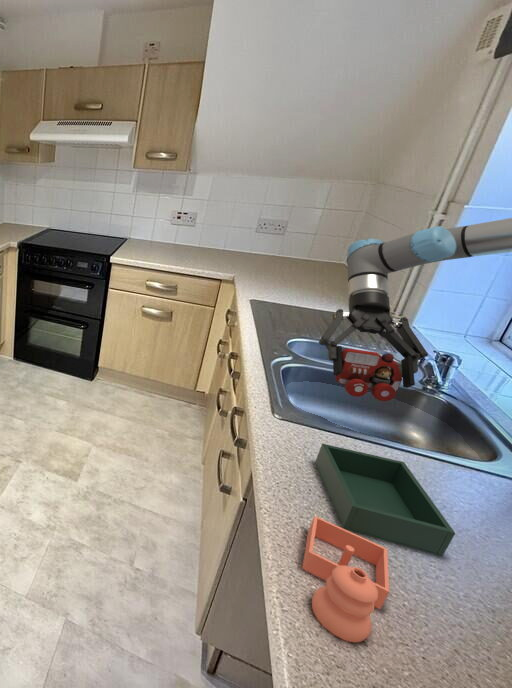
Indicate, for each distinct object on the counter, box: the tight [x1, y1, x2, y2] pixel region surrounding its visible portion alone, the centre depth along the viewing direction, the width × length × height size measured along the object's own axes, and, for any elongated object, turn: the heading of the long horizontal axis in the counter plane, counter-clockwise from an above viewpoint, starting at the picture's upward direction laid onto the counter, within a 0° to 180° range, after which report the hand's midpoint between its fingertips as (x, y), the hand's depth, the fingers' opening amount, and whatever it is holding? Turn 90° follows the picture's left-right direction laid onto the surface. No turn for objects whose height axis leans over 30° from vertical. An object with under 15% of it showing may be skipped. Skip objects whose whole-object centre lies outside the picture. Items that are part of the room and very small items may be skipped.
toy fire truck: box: [334, 348, 403, 402], centre depth 96 cm, size 7×12×10 cm, turn 72°
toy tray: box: [314, 443, 456, 557], centre depth 77 cm, size 14×18×6 cm
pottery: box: [301, 515, 390, 643], centre depth 61 cm, size 18×10×10 cm, turn 140°
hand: (372, 379), depth 94 cm, fingers closed on toy fire truck, 12 cm apart
